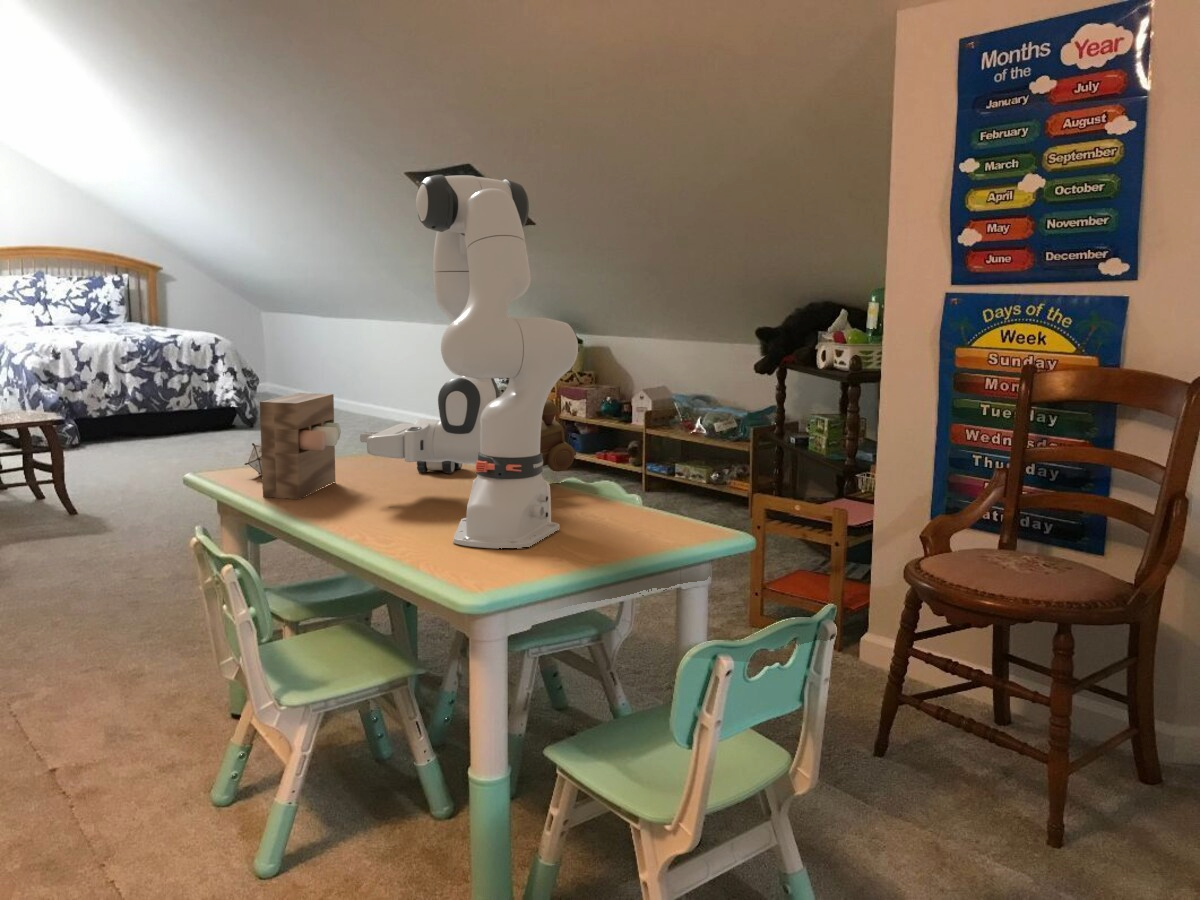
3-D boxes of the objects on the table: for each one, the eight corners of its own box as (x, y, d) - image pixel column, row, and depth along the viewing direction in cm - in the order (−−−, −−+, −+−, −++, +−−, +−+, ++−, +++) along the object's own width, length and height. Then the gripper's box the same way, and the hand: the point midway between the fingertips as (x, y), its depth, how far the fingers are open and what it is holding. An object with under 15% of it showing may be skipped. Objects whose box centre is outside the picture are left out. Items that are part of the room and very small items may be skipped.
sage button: (340, 439, 218) (340, 421, 217) (333, 442, 214) (332, 424, 213) (315, 438, 219) (314, 420, 218) (307, 441, 215) (306, 423, 214)
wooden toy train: (503, 493, 217) (496, 428, 209) (481, 471, 226) (473, 407, 218) (580, 467, 226) (577, 403, 218) (557, 447, 235) (552, 384, 226)
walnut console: (335, 482, 221) (333, 394, 217) (299, 499, 203) (296, 403, 200) (301, 480, 222) (299, 392, 218) (263, 497, 204) (259, 401, 201)
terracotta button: (326, 448, 206) (326, 429, 205) (318, 451, 202) (317, 432, 201) (299, 447, 207) (299, 428, 206) (290, 450, 203) (290, 431, 202)
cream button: (338, 444, 212) (338, 426, 211) (330, 447, 208) (330, 428, 207) (312, 443, 212) (311, 424, 212) (303, 445, 209) (303, 427, 208)
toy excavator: (471, 463, 248) (471, 396, 245) (449, 476, 232) (449, 403, 229) (438, 462, 249) (438, 394, 246) (415, 474, 233) (414, 402, 230)
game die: (267, 490, 229) (277, 452, 233) (288, 482, 224) (298, 443, 228) (233, 475, 223) (244, 436, 227) (254, 466, 218) (265, 427, 222)
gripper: (440, 418, 215) (380, 415, 217) (409, 432, 195) (343, 429, 197) (440, 446, 216) (380, 443, 218) (409, 463, 196) (343, 460, 198)
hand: (362, 436), depth 207 cm, fingers closed
